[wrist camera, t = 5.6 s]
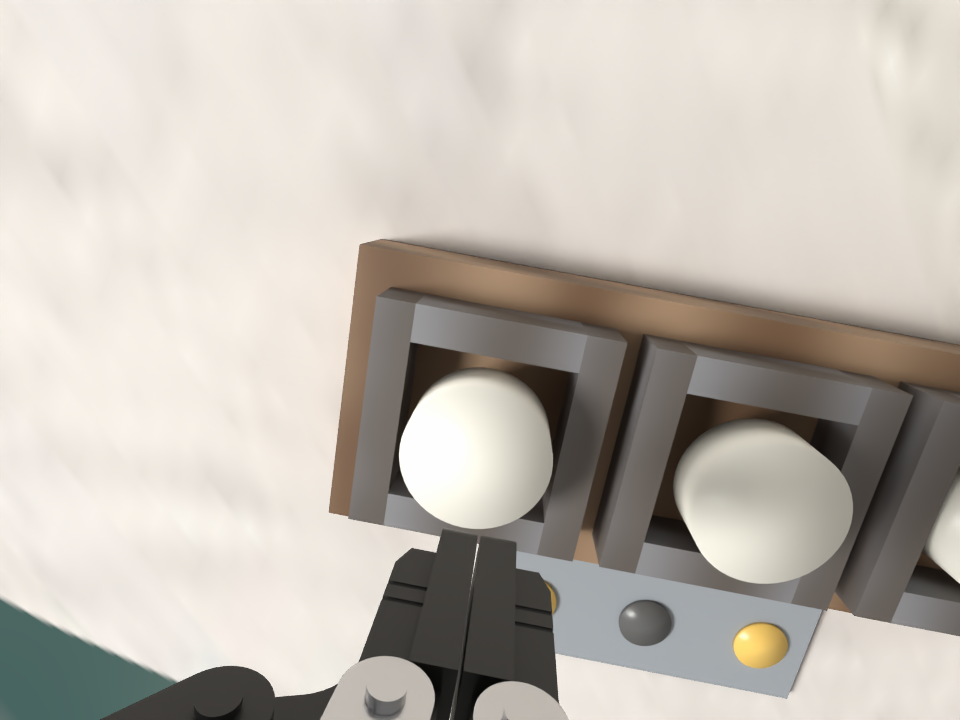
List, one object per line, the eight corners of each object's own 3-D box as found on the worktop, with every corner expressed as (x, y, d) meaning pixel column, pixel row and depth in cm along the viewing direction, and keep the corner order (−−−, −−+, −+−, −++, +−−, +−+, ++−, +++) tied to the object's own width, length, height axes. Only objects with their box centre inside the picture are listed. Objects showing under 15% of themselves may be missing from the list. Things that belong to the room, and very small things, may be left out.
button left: (402, 482, 19) (389, 513, 17) (422, 355, 18) (410, 373, 16) (534, 507, 19) (536, 541, 17) (562, 381, 18) (567, 403, 16)
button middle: (657, 530, 19) (673, 567, 17) (694, 406, 18) (715, 430, 16) (791, 556, 19) (822, 596, 17) (837, 432, 18) (876, 460, 16)
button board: (351, 476, 24) (310, 542, 20) (380, 239, 22) (341, 248, 17) (987, 597, 24) (1105, 696, 19) (1097, 370, 21) (1267, 419, 16)
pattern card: (476, 631, 26) (475, 641, 25) (495, 535, 25) (495, 543, 24) (782, 691, 26) (788, 702, 25) (819, 597, 24) (827, 607, 24)
